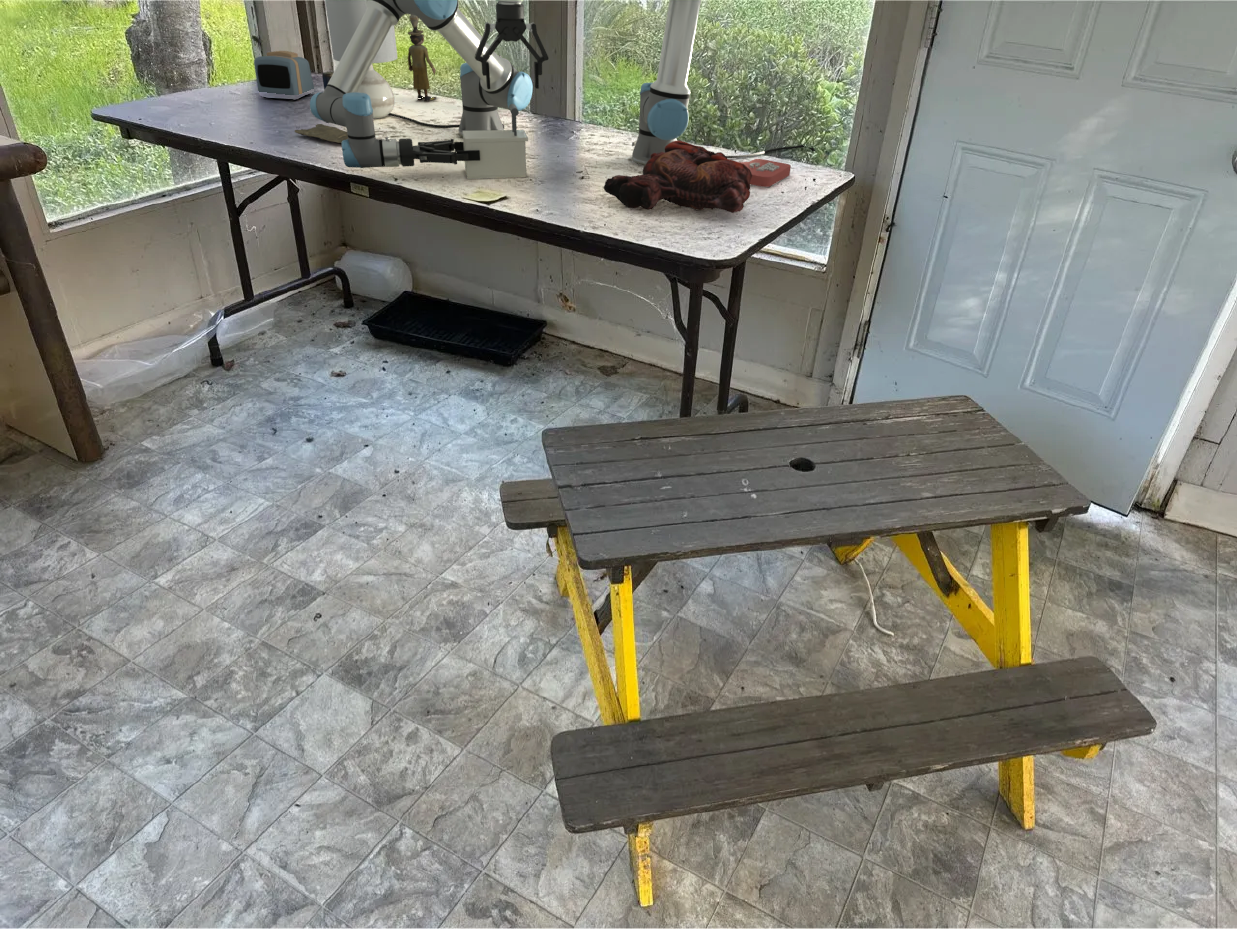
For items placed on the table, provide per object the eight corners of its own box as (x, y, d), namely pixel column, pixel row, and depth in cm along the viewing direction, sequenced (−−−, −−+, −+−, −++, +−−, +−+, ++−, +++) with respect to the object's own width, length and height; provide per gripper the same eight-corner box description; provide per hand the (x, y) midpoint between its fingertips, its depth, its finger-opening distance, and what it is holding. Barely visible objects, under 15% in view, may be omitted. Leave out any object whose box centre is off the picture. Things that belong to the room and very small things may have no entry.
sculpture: (769, 218, 227) (775, 169, 218) (687, 248, 212) (691, 197, 203) (663, 172, 252) (665, 126, 244) (583, 196, 237) (582, 148, 229)
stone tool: (292, 135, 280) (343, 148, 268) (291, 126, 278) (342, 139, 267) (320, 129, 287) (370, 142, 276) (318, 120, 286) (369, 133, 274)
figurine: (443, 98, 335) (436, 13, 318) (431, 103, 327) (423, 15, 310) (418, 96, 337) (410, 11, 321) (406, 100, 330) (397, 13, 313)
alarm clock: (257, 98, 324) (248, 53, 316) (278, 90, 338) (270, 46, 329) (297, 101, 323) (289, 55, 314) (317, 93, 336) (310, 49, 327)
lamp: (416, 115, 310) (403, -11, 287) (372, 125, 294) (355, -7, 272) (373, 106, 319) (358, -16, 296) (328, 116, 304) (309, -13, 281)
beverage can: (339, 109, 314) (334, 74, 307) (318, 108, 314) (312, 73, 307) (346, 104, 321) (341, 69, 314) (325, 103, 321) (320, 69, 314)
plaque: (748, 154, 263) (793, 162, 256) (746, 167, 265) (791, 175, 258) (722, 166, 250) (769, 175, 244) (721, 179, 252) (767, 189, 246)
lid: (523, 133, 251) (523, 102, 246) (528, 141, 243) (527, 109, 238) (462, 134, 247) (460, 102, 243) (465, 142, 240) (462, 110, 235)
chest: (522, 168, 256) (521, 133, 251) (526, 177, 249) (525, 141, 243) (465, 170, 253) (462, 134, 247) (467, 179, 246) (465, 142, 240)
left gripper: (398, 148, 231) (480, 146, 235) (397, 129, 249) (474, 128, 253) (401, 176, 235) (482, 174, 240) (400, 156, 253) (476, 154, 257)
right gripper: (463, 3, 222) (469, 90, 234) (557, 4, 227) (558, 90, 238) (461, 0, 228) (467, 85, 240) (553, 1, 233) (554, 84, 244)
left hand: (478, 150), depth 246 cm, fingers closed on chest, 9 cm apart
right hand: (512, 88), depth 239 cm, fingers open, 13 cm apart
